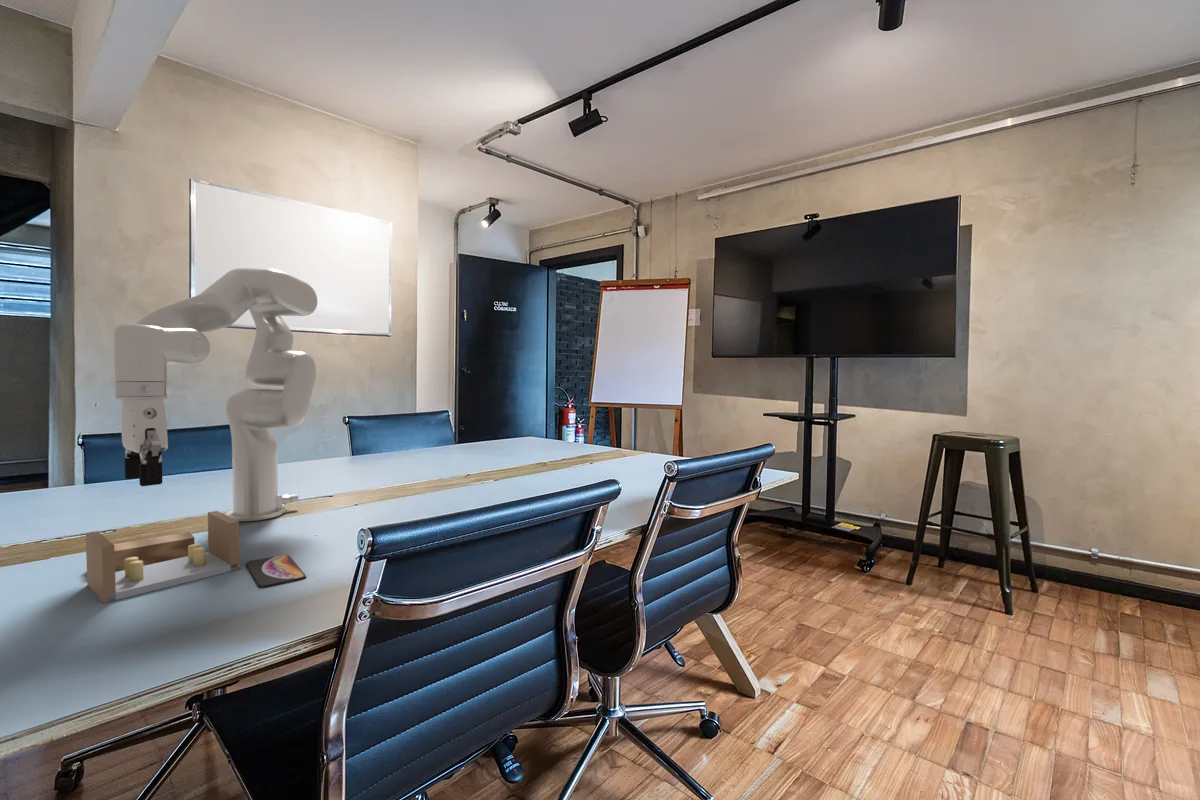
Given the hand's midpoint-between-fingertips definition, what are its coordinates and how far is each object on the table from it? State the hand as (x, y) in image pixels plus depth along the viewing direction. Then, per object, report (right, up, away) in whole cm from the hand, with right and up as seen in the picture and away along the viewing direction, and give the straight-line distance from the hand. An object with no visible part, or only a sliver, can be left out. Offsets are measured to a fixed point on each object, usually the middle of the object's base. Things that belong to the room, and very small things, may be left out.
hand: (143, 481), depth 102 cm
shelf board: (0, -16, +1) cm, 16 cm away
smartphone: (+26, -17, -2) cm, 31 cm away
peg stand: (+9, -16, -6) cm, 20 cm away
